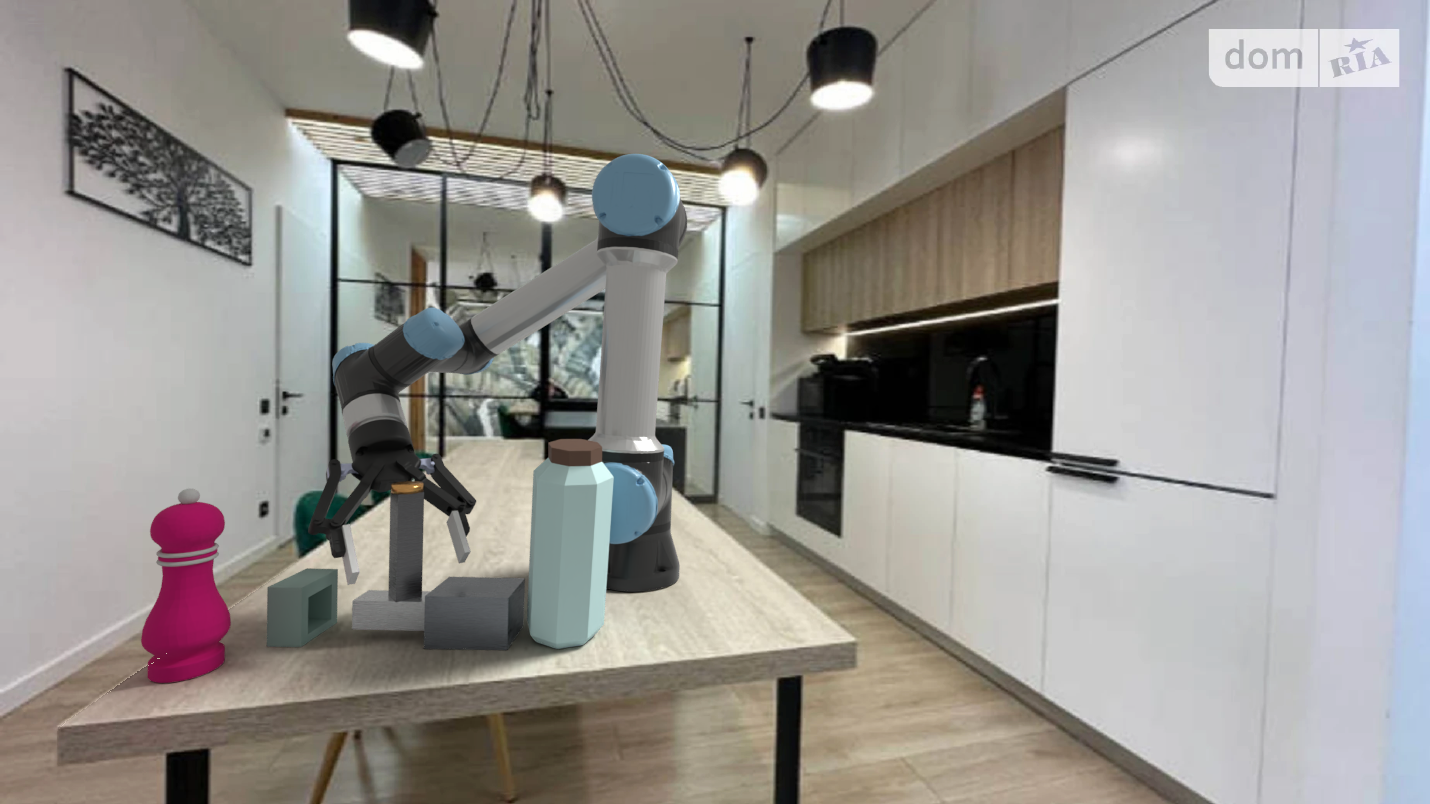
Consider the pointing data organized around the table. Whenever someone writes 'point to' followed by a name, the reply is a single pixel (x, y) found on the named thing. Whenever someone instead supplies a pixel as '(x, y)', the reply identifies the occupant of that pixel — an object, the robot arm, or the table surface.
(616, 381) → the robot arm
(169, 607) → the pepper mill
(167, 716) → the table surface
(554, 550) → the water bottle
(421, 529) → the gray hammer
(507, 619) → the charcoal rectangular brick
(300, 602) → the socket block
